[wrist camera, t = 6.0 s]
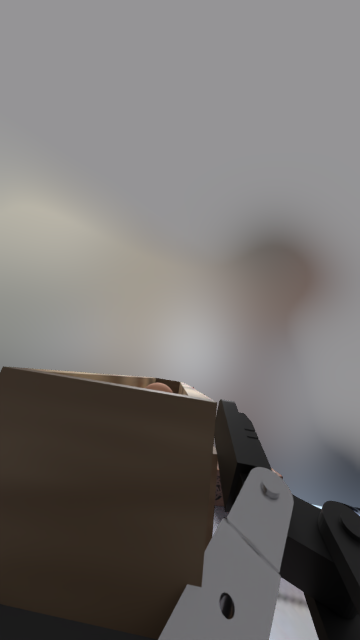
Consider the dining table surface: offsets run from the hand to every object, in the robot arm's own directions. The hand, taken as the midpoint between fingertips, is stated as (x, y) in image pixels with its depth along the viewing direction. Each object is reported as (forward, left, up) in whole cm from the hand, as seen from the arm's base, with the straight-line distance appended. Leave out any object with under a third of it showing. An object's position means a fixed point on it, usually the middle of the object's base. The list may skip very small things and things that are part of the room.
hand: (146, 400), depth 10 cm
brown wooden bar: (+3, -5, -3) cm, 7 cm away
